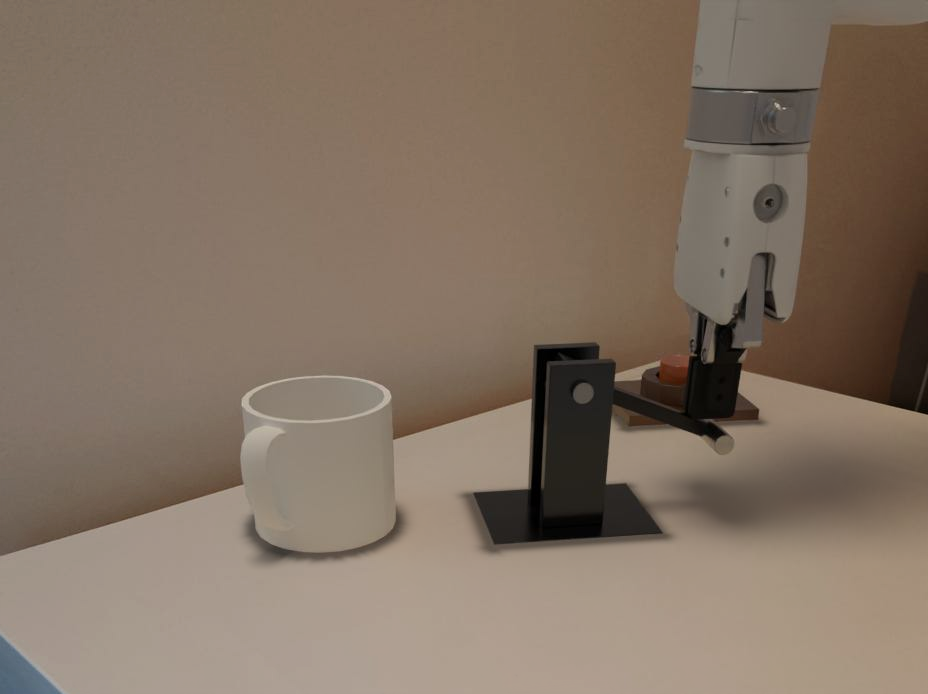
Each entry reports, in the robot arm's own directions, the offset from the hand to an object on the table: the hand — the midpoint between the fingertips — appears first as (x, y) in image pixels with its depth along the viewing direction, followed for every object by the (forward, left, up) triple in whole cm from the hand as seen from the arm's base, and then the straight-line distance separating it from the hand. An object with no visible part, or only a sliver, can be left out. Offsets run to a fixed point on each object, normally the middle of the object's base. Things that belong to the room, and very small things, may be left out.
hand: (707, 414), depth 70 cm
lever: (+6, 0, 0) cm, 6 cm away
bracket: (+10, 0, -8) cm, 13 cm away
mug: (+28, 0, -8) cm, 29 cm away
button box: (-6, -22, -8) cm, 24 cm away
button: (-6, -22, -5) cm, 23 cm away
